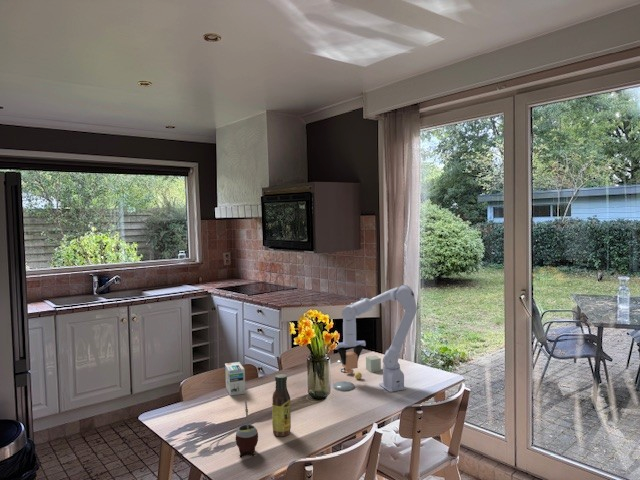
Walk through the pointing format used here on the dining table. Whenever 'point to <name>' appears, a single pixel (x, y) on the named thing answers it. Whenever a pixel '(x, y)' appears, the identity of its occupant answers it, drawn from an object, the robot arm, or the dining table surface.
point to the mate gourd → (246, 437)
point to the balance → (344, 368)
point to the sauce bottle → (281, 407)
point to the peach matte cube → (351, 360)
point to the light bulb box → (235, 378)
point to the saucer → (343, 386)
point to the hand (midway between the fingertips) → (349, 363)
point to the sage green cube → (373, 363)
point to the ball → (358, 375)
